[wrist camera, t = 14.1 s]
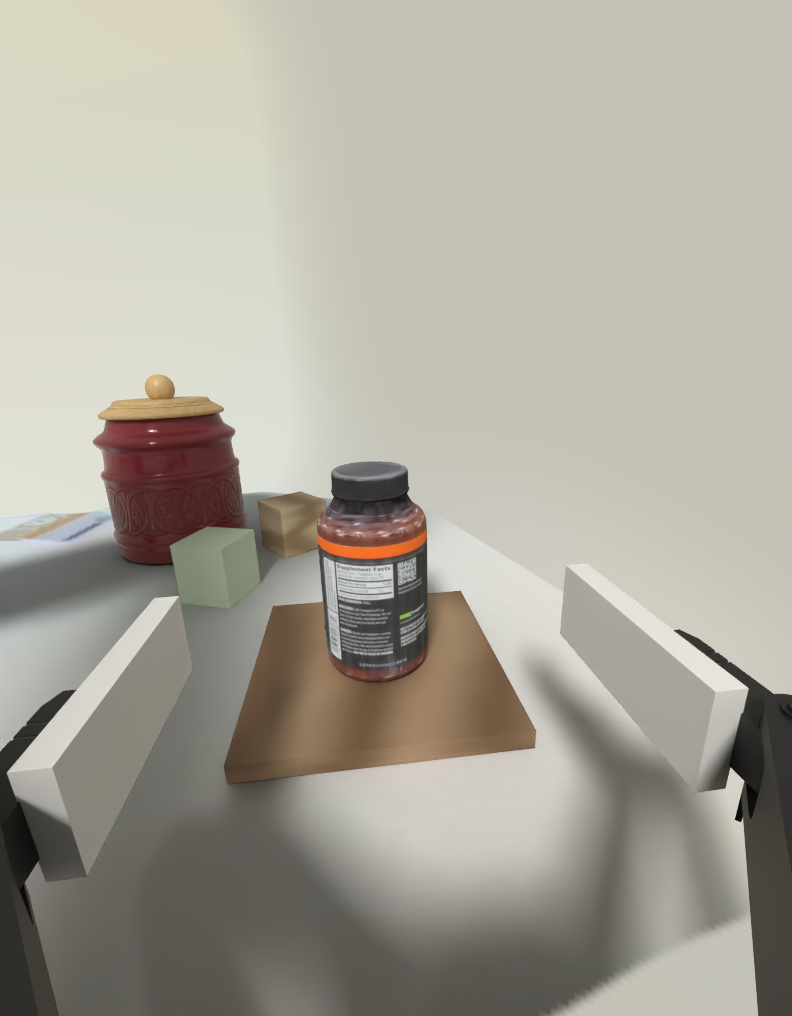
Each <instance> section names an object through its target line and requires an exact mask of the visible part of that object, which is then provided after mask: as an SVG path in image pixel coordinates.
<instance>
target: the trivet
mask: <svg viewBox="0 0 792 1016" xmlns="http://www.w3.org/2000/svg"><path fill="white" fill-rule="evenodd" d="M427 615H428V622H427V624H428V640H427V651H426V655H425V657H424V659H423V661H422V662H421V663H420V665H418V666H417V667H416V668H415V669H414V670H413V671H411V672H410V673H408V674H406V675H404V676H402V677H399V678H396V679H393V680H389V681H386V682H366V681H361V680H356V679H352V678H350V677H347V676H346V675H344V674H342V673H341V672H340V671H338V670H337V669H336V668H335V667H334V666H333V664H332V663H331V661H330V659H329V654H328V648H327V644H326V639H327V638H326V629H324V626H325V617H324V606H323V602H319V603H306V604H294V605H282V606H273V608H272V611H271V615H270V618H269V621H268V624H267V628H266V631H265V634H264V637H263V641H262V644H261V647H260V651H259V654H258V657H257V660H256V664H255V667H254V670H253V673H252V677H251V680H250V683H249V686H248V690H247V693H246V696H245V699H244V703H243V706H242V709H241V712H240V716H239V719H238V722H237V725H236V729H235V732H234V735H233V738H232V742H231V745H230V748H229V751H228V755H227V758H226V761H225V764H224V769H225V775H226V780H227V784H233V783H241V782H250V781H258V780H267V779H275V778H284V777H292V776H301V775H309V774H318V773H326V772H335V771H343V770H352V769H360V768H368V767H377V766H385V765H394V764H402V763H411V762H419V761H428V760H436V759H445V758H453V757H462V756H470V755H479V754H487V753H496V752H504V751H513V750H521V749H530V748H535V738H536V730H535V728H534V726H533V724H532V722H531V720H530V718H529V717H528V715H527V713H526V711H525V709H524V707H523V705H522V704H521V702H520V700H519V698H518V696H517V694H516V693H515V691H514V689H513V687H512V685H511V683H510V681H509V680H508V678H507V676H506V674H505V672H504V670H503V668H502V667H501V665H500V663H499V661H498V659H497V657H496V655H495V654H494V652H493V650H492V648H491V646H490V644H489V643H488V641H487V639H486V637H485V635H484V633H483V631H482V630H481V628H480V626H479V624H478V622H477V620H476V618H475V617H474V615H473V613H472V611H471V609H470V607H469V605H468V604H467V602H466V600H465V598H464V596H463V594H462V592H461V591H454V592H442V593H430V594H427Z"/></svg>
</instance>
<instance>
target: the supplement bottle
mask: <svg viewBox="0 0 792 1016" xmlns="http://www.w3.org/2000/svg"><path fill="white" fill-rule="evenodd" d="M331 478H332V491H331V492H332V494H333V496H334V497H333V500H332V502H331V504H330V506H329V507H327V508H326V509H325V510H324V511H322V513H321V514H320V516H319V518H318V522H317V534H318V549H319V556H320V560H319V561H320V570H321V584H322V594H323V606H324V617H325V626H324V629H326V638H327V639H326V644H327V648H328V654H329V659H330V661H331V663H332V664H333V666H334V667H335V668H336V669H337V670H338V671H340V672H341V673H342V674H344V675H346V676H347V677H350V678H352V679H356V680H361V681H366V682H386V681H389V680H393V679H396V678H399V677H402V676H404V675H406V674H408V673H410V672H411V671H413V670H414V669H415V668H416V667H417V666H418V665H420V663H421V662H422V661H423V659H424V657H425V655H426V651H427V640H428V624H427V622H428V615H427V527H426V518H425V515H424V513H423V511H422V509H421V508H420V507H419V506H418V505H416V504H414V503H413V502H412V501H411V499H410V498H409V496H408V495H407V492H408V490H409V487H408V470H407V468H406V467H405V466H403V465H400V464H397V463H391V462H357V463H350V464H346V465H342V466H339V467H337V468H335V469H334V470H333V471H332V474H331Z"/></svg>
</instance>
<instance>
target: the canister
mask: <svg viewBox="0 0 792 1016" xmlns="http://www.w3.org/2000/svg"><path fill="white" fill-rule="evenodd" d="M145 391H146V393H147V395H148V397H149V398H148V399H147V398H146V399H131V400H120V401H114V402H112V404H111V406H110V407H108V408H107V409H106V410H104V411H103V412H101V413H100V414H99V415H98V417H99V419H103V420H106V423H105V428H104V431H103V432H102V433H101V434H100V435H98V436H97V437H96V438H95V439H94V440H93V444H94V445H95V446H96V447H98V448H99V449H101V451H102V453H103V459H104V471H103V472H102V474H101V478H102V479H103V480H104V483H105V487H106V492H107V496H108V501H109V505H110V510H111V514H112V518H113V523H114V527H115V531H114V537H115V538H116V545H117V546H118V548H119V549H120V551H121V554H122V556H123V557H124V558H125V559H127V560H129V561H132V562H136V563H143V564H168V563H173V560H172V555H171V549H170V545H172V544H174V543H176V542H178V541H180V540H182V539H184V538H186V537H188V536H190V535H192V534H194V533H196V532H198V531H200V530H202V529H204V528H205V527H221V528H239V529H246V527H247V519H246V516H247V514H246V512H245V510H244V505H243V498H242V490H241V483H240V476H239V468H238V465H239V460H238V458H236V457H235V456H234V453H233V448H232V443H231V439H232V437H233V436H234V434H235V430H234V428H232V427H231V426H229V425H227V424H225V423H224V422H223V420H222V419H221V417H220V415H219V413H220V412H223V410H224V408H223V407H222V406H220V405H218V404H215V403H213V402H212V401H210V400H209V399H208V398H207V397H173V396H174V393H175V389H174V385H173V383H172V381H171V380H170V379H169V378H168V377H166V376H164V375H153V376H150V377H149V378H148V379H147V380H146V383H145Z"/></svg>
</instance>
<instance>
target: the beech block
mask: <svg viewBox="0 0 792 1016" xmlns="http://www.w3.org/2000/svg"><path fill="white" fill-rule="evenodd" d="M258 508H259V516H260V524H261V532H262V540H263V545H264V546H265V547H267V548H269V549H270V550H272V551H274V552H276V553H277V554H279V555H281V556H282V557H284V558H289V557H292V556H295V555H298V554H301V553H305V552H308V551H311V550H314V549H317V548H318V534H317V522H318V518H319V516H320V514H321V513H322V511H324V510H325V509H326V504H325V500H324V499H321V498H318V497H315V496H312V495H309V494H306V493H303V492H296V493H292V494H287V495H282V496H278V497H273V498H268V499H264V500H259V501H258Z"/></svg>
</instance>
